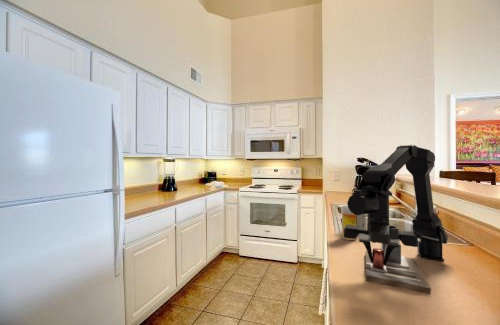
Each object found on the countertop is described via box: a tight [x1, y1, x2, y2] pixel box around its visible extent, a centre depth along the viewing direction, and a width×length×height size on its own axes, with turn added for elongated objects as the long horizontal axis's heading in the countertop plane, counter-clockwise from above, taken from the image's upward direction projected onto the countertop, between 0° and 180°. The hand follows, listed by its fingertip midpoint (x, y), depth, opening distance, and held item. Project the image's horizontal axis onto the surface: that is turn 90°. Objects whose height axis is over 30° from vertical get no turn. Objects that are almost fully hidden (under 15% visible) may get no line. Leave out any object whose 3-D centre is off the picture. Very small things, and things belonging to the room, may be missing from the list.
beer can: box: [341, 204, 357, 241], centre depth 103 cm, size 6×6×15 cm
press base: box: [364, 250, 432, 295], centre depth 72 cm, size 15×21×3 cm
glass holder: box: [356, 214, 367, 230], centre depth 112 cm, size 9×14×15 cm, turn 172°
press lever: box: [371, 247, 387, 274], centre depth 68 cm, size 4×4×7 cm
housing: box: [380, 241, 402, 264], centre depth 76 cm, size 5×7×7 cm
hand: (378, 263), depth 68 cm, fingers closed on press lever, 3 cm apart
